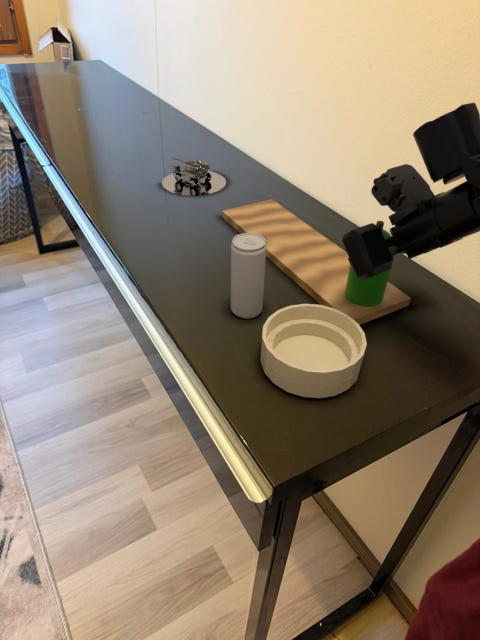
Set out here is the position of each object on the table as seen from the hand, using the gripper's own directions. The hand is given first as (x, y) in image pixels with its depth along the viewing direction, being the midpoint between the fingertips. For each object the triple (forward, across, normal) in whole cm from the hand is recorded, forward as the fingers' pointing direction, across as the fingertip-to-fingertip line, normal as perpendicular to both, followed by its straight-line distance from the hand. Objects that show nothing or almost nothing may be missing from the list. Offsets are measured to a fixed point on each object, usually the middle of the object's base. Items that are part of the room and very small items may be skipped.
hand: (365, 255), depth 67 cm
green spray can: (+4, 0, +6) cm, 7 cm away
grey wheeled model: (+44, 0, -32) cm, 54 cm away
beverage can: (+10, +16, +1) cm, 19 cm away
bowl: (0, +16, +11) cm, 19 cm away
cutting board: (+16, -1, -5) cm, 17 cm away
